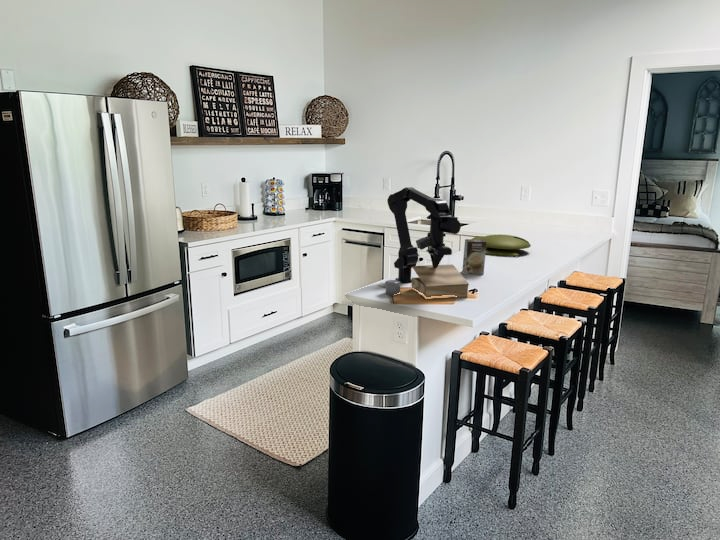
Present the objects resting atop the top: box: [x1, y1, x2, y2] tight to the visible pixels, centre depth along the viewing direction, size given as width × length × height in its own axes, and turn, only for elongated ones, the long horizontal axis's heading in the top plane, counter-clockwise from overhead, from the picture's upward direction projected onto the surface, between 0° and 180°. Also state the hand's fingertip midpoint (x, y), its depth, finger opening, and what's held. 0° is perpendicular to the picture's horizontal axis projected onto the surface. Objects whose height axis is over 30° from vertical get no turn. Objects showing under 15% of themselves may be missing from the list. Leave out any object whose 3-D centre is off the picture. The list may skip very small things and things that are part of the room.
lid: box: [411, 263, 470, 287], centre depth 217 cm, size 16×18×1 cm
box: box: [411, 276, 469, 299], centre depth 219 cm, size 16×18×5 cm
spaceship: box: [471, 234, 532, 258], centre depth 311 cm, size 35×31×10 cm
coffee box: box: [462, 238, 487, 276], centre depth 254 cm, size 9×6×16 cm
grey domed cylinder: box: [385, 279, 401, 297], centre depth 216 cm, size 6×6×5 cm
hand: (434, 267), depth 222 cm, fingers closed
